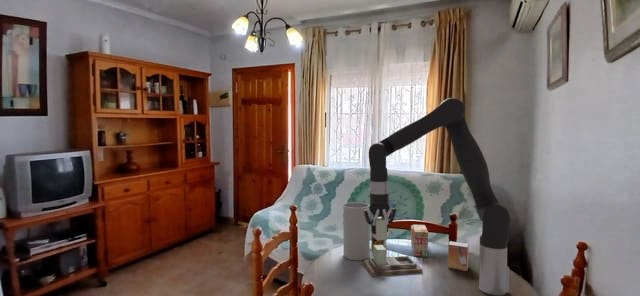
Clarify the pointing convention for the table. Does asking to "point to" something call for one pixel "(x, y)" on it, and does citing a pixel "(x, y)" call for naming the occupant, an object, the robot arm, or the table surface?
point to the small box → (458, 255)
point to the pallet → (393, 266)
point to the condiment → (376, 242)
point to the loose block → (381, 229)
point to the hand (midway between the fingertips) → (379, 233)
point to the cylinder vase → (356, 231)
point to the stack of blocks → (419, 240)
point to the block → (379, 255)
